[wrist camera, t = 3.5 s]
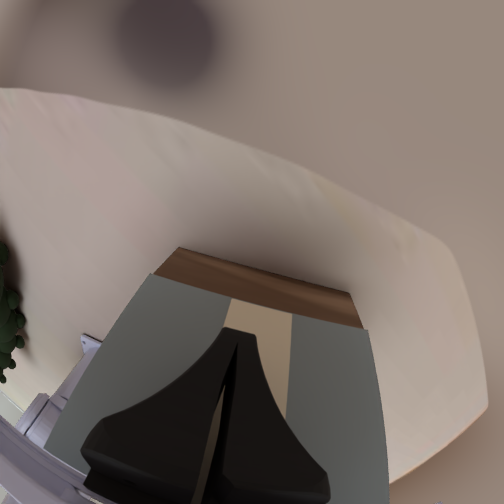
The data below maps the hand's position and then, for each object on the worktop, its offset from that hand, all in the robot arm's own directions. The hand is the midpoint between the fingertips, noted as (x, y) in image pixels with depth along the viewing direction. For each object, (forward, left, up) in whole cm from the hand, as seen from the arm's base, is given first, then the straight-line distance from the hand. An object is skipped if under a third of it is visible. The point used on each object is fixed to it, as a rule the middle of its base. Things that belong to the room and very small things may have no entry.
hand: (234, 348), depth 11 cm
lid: (-2, -1, +1) cm, 3 cm away
